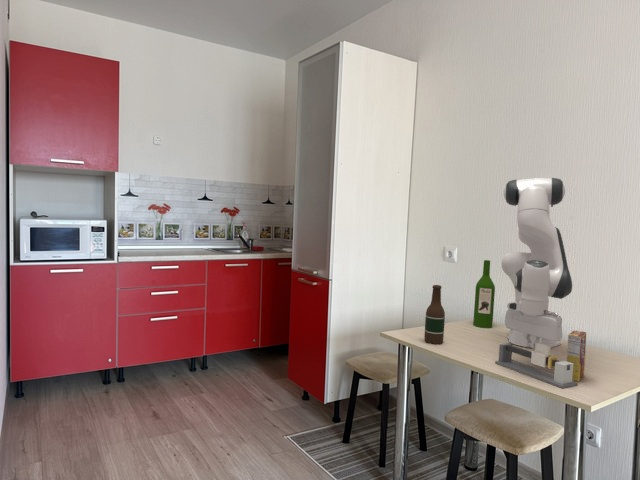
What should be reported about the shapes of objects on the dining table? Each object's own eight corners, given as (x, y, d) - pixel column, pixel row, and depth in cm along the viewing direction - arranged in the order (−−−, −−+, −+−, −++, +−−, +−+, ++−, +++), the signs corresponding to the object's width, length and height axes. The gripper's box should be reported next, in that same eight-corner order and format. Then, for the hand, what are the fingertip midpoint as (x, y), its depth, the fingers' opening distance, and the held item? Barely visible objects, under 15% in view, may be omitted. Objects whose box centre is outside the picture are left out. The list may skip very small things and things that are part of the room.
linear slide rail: (509, 360, 171) (511, 340, 171) (577, 385, 148) (579, 361, 148) (495, 363, 167) (496, 342, 167) (562, 388, 144) (564, 364, 144)
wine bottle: (474, 327, 223) (479, 260, 221) (471, 323, 232) (476, 259, 230) (494, 328, 221) (498, 261, 219) (490, 324, 230) (494, 260, 228)
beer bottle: (443, 345, 188) (447, 287, 187) (424, 343, 189) (427, 285, 188) (442, 340, 195) (446, 284, 194) (423, 338, 197) (427, 283, 196)
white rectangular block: (538, 361, 159) (539, 341, 158) (551, 366, 154) (553, 345, 154) (530, 362, 157) (532, 342, 156) (544, 367, 152) (545, 346, 152)
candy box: (570, 372, 161) (573, 329, 160) (584, 375, 158) (587, 332, 157) (564, 378, 154) (567, 334, 153) (578, 382, 151) (582, 336, 150)
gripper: (568, 313, 150) (564, 355, 151) (515, 301, 168) (512, 338, 169) (556, 314, 147) (552, 357, 148) (503, 302, 165) (500, 340, 166)
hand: (530, 347), depth 159 cm, fingers closed
